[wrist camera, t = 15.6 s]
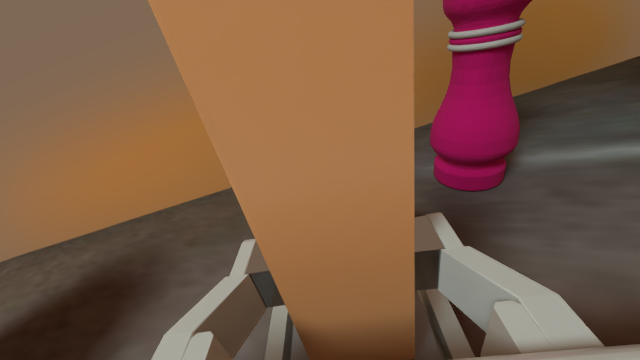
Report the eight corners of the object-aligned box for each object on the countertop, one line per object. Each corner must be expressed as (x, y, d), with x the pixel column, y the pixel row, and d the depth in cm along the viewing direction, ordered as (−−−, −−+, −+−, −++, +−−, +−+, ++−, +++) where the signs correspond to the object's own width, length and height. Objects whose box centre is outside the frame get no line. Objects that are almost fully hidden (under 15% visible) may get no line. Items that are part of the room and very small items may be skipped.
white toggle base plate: (593, 702, 6) (683, 757, 4) (254, 688, 7) (188, 725, 5) (403, 233, 21) (402, 192, 19) (298, 248, 22) (286, 210, 20)
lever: (448, 393, 9) (577, -388, 2) (293, 404, 10) (-64, -152, 3) (414, 295, 13) (413, -121, 5) (300, 308, 13) (157, -48, 6)
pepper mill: (416, 168, 29) (416, -61, 19) (474, 152, 29) (504, -80, 19) (456, 203, 23) (489, -111, 13) (529, 182, 23) (617, -138, 13)
